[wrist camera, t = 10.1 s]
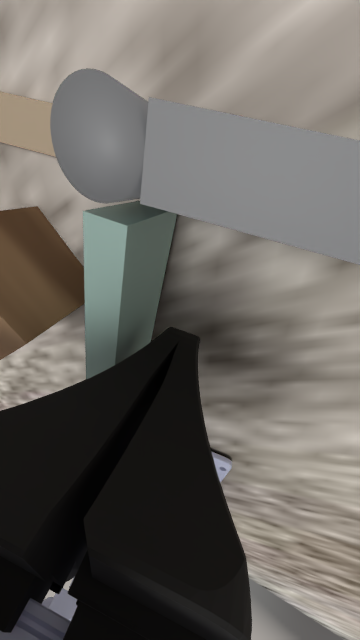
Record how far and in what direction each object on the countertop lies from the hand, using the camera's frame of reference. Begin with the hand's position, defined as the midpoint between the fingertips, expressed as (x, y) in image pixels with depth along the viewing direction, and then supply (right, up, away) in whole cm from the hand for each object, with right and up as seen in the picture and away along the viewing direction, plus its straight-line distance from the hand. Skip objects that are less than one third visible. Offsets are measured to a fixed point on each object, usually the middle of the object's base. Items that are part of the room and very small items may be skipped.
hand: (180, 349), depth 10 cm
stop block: (-7, +4, +3) cm, 9 cm away
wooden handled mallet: (-3, +8, -1) cm, 9 cm away
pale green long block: (-2, +2, +2) cm, 3 cm away
